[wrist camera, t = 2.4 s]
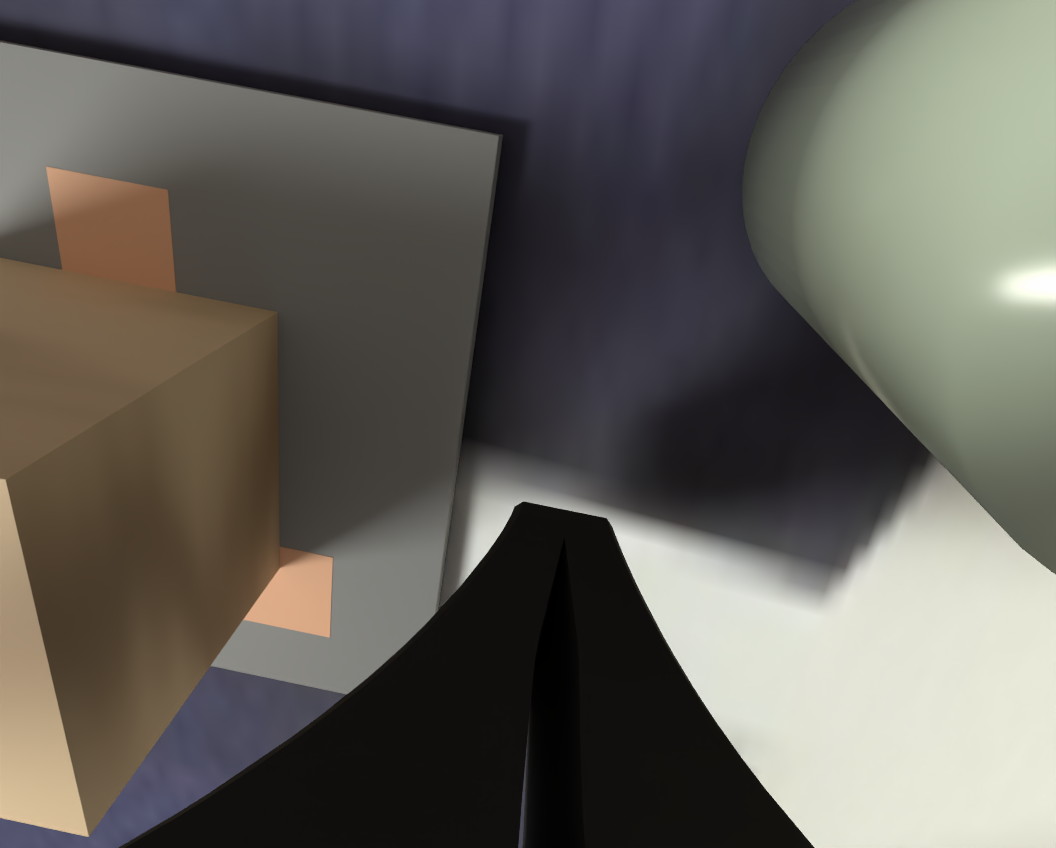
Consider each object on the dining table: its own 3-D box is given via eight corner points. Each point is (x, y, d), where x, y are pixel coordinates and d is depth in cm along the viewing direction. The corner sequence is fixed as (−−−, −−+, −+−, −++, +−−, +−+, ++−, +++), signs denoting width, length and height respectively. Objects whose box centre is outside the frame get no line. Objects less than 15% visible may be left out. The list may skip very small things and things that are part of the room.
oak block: (280, 567, 12) (88, 837, 8) (22, 515, 12) (-316, 749, 8) (277, 311, 10) (5, 480, 5) (-39, 250, 10) (-562, 363, 6)
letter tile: (427, 694, 14) (422, 710, 13) (-71, 590, 14) (-90, 603, 14) (503, 134, 9) (498, 136, 8) (-266, -10, 9) (-303, -15, 9)
